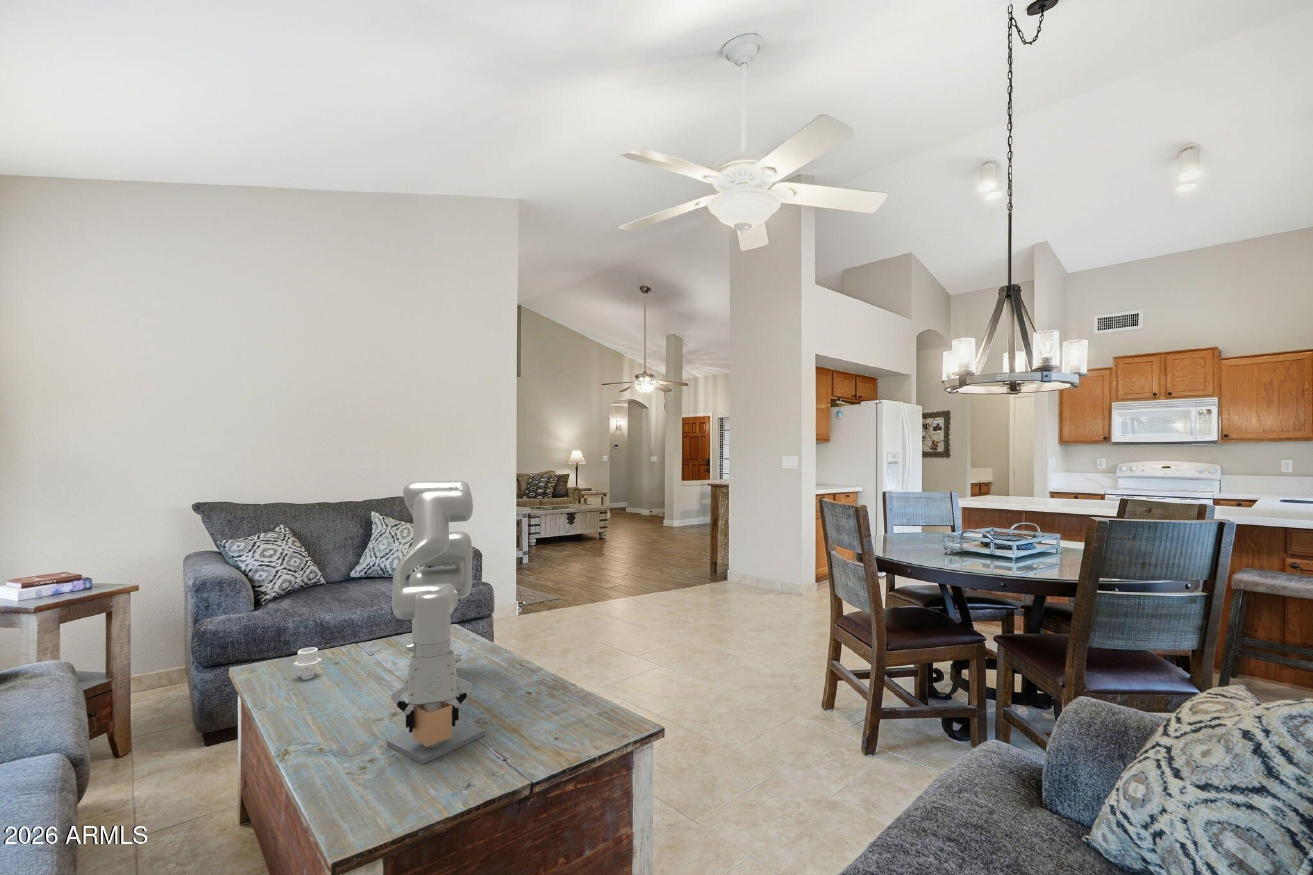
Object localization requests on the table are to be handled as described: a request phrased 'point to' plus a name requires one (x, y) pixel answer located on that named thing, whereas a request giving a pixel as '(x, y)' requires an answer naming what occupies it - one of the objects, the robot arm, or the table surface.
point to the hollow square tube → (432, 724)
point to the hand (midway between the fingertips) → (432, 726)
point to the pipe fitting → (307, 662)
